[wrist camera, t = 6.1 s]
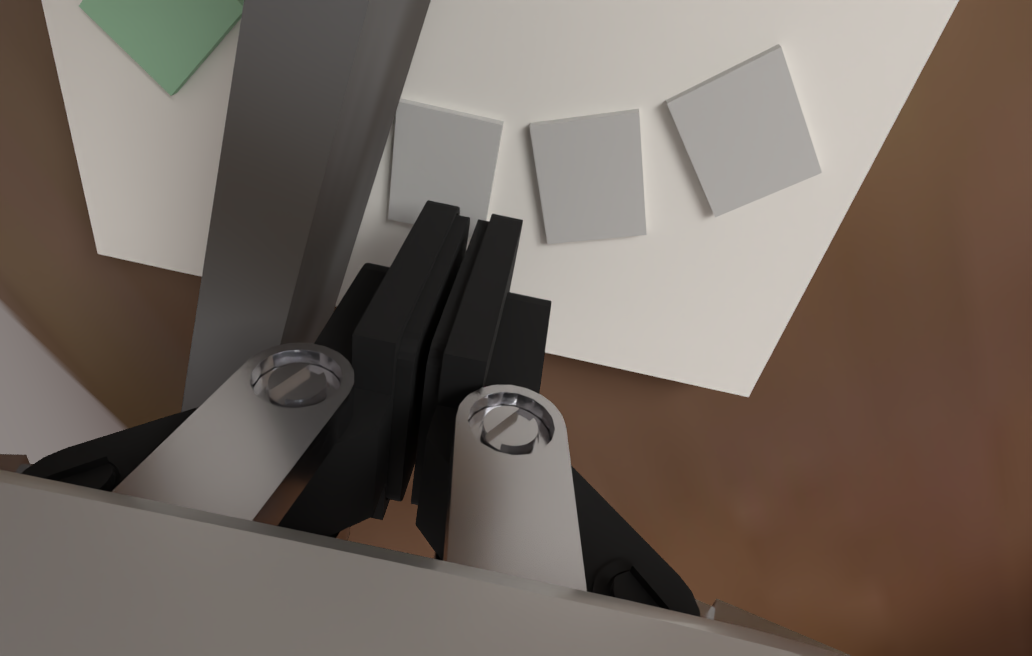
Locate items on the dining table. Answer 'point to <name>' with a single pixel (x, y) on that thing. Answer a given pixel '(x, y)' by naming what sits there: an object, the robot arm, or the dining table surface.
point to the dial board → (546, 151)
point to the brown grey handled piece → (295, 172)
